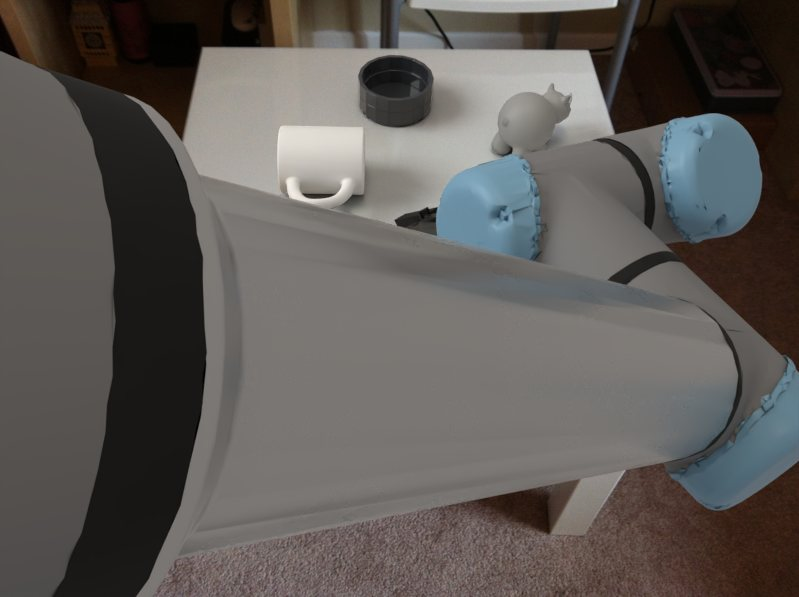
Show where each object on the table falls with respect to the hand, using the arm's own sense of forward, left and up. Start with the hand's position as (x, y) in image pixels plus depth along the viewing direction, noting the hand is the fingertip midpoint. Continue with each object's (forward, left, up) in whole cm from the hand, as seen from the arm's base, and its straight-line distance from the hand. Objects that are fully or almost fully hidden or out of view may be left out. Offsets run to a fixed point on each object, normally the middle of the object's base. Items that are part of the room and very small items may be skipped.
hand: (405, 228), depth 77 cm
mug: (+3, +15, -8) cm, 18 cm away
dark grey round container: (+23, +21, -8) cm, 32 cm away
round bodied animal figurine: (+29, +2, -8) cm, 30 cm away
